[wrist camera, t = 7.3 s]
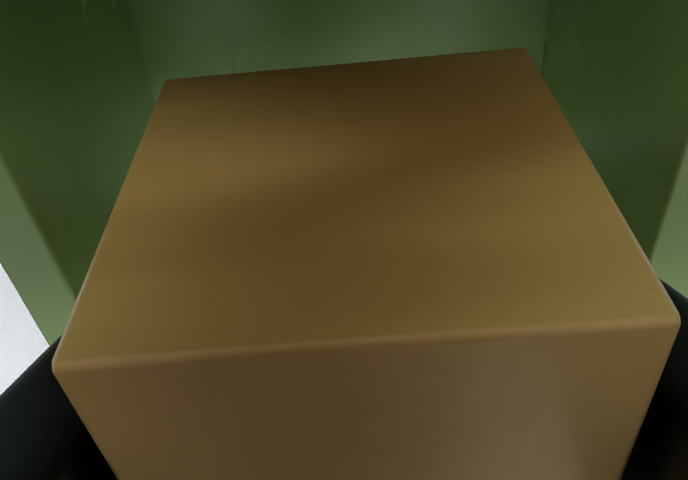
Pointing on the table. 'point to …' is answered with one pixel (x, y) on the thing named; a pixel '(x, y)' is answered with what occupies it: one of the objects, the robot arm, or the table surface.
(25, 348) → the table surface
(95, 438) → the block
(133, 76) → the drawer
